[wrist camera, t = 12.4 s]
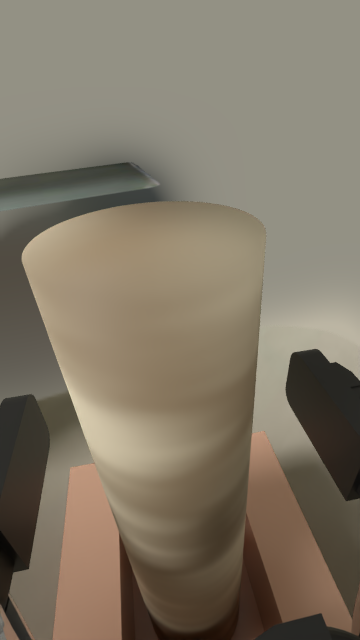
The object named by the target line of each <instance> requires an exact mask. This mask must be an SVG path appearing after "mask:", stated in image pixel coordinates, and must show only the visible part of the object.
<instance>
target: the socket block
mask: <svg viewBox="0 0 360 640" xmlns="http://www.w3.org/2000/svg"><path fill="white" fill-rule="evenodd" d="M319 613H322V616H323V618H324V621H325V623H326V625H327V626H329V627H334V628H338V629H342V630H345V631H347V632H350V633H351V629H352V618H351V616H350V614H349V611H348V609H347V607H346V605H345V603H344V601H343V599H342V596H341V594H340V592H339V590H338V588H337V586H336V584H335V581H334V579H333V577H332V575H331V573H330V571H329V569H328V566H327V564H326V562H325V560H324V558H323V556H322V554H321V551H320V549H319V547H318V545H317V543H316V541H315V539H314V536H313V534H312V532H311V530H310V528H309V526H308V524H307V521H306V519H305V517H304V515H303V513H302V511H301V509H300V506H299V504H298V502H297V500H296V498H295V496H294V494H293V491H292V489H291V487H290V485H289V483H288V481H287V479H286V476H285V474H284V472H283V470H282V468H281V466H280V464H279V461H278V459H277V457H276V455H275V453H274V451H273V449H272V446H271V444H270V442H269V440H268V438H267V436H266V434H265V431H262V432H257V433H252V438H251V451H250V465H249V479H248V493H247V507H246V520H245V534H244V548H243V562H242V575H241V589H240V603H239V615H238V621H237V625H236V628H235V631H234V634H233V636H232V638H231V640H254V639H255V638H257V637H258V636H259V635H261V634H262V633H264V632H265V631H267V630H268V629H269V628H271V627H272V626H274V625H277V624H280V623H284V622H288V621H292V620H296V619H300V618H304V617H308V616H312V615H315V614H319ZM53 640H159V639H158V637H157V635H156V633H155V630H154V628H153V625H152V622H151V619H150V617H149V614H148V611H147V608H146V606H145V603H144V600H143V597H142V594H141V592H140V589H139V586H138V583H137V580H136V578H135V575H134V572H133V569H132V567H131V564H130V561H129V558H128V555H127V553H126V550H125V547H124V544H123V541H122V539H121V536H120V533H119V530H118V528H117V525H116V522H115V519H114V516H113V514H112V511H111V508H110V505H109V502H108V500H107V497H106V494H105V491H104V489H103V486H102V483H101V480H100V477H99V475H98V472H97V469H96V466H95V463H92V464H87V465H82V466H76V467H71V468H70V477H69V486H68V496H67V506H66V515H65V525H64V534H63V544H62V554H61V563H60V573H59V582H58V592H57V602H56V611H55V621H54V630H53Z"/></svg>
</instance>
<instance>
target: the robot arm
mask: <svg viewBox="0 0 360 640" xmlns="http://www.w3.org/2000/svg"><path fill="white" fill-rule="evenodd" d="M286 396H287V400H288V402H289V405H290V407H291V408H292V410H293V412H294V413H295V415H296V417H297V418H298V420H299V422H300V424H301V425H302V427H303V429H304V430H305V432H306V434H307V435H308V437H309V439H310V441H311V442H312V444H313V446H314V447H315V449H316V451H317V452H318V454H319V456H320V458H321V459H322V461H323V463H324V464H325V466H326V468H327V469H328V471H329V473H330V475H331V476H332V478H333V480H334V481H335V483H336V485H337V486H338V488H339V490H340V492H341V493H342V495H343V497H344V498H345V500H346V501H349V500H353V499H358V498H360V381H359V380H358V378H357V377H356V376H355V375H354V374H353V373H352V372H351V371H349V370H348V369H346V368H345V367H343V366H341V365H340V364H338V363H337V362H334V363H330V362H329V361H328V360H327V359H326V357H325V356H324V355H323V354H322V353H321V352H320V351H319V350H318V349H312V350H306V351H300V352H294V353H292V355H291V358H290V364H289V370H288V376H287V382H286ZM49 445H50V439H49V431H48V428H47V425H46V423H45V420H44V418H43V415H42V413H41V411H40V408H39V406H38V404H37V401H36V399H35V397H34V396H33V395H31V394H30V395H24V396H18V397H11V398H5V399H4V400H3V401H2V403H1V405H0V640H35V639H34V637H33V635H32V633H31V632H30V630H29V628H28V626H27V624H26V622H25V620H24V618H23V617H22V615H21V613H20V611H19V609H18V607H17V605H16V603H15V602H14V600H13V598H12V596H11V594H10V593H9V589H10V585H11V580H12V575H13V572H17V571H22V570H26V569H29V564H30V558H31V552H32V546H33V541H34V535H35V529H36V523H37V517H38V511H39V505H40V500H41V494H42V488H43V482H44V476H45V470H46V464H47V458H48V453H49ZM254 640H360V583H359V589H358V594H357V597H356V601H355V605H354V611H353V618H352V629H351V633H350V632H347V631H345V630H342V629H338V628H334V627H329V626H327V625H326V623H325V621H324V618H323V616H322V613H319V614H315V615H312V616H308V617H304V618H300V619H296V620H292V621H288V622H284V623H280V624H277V625H274V626H272V627H271V628H269V629H268V630H267V631H265V632H264V633H262V634H261V635H259V636H258V637H257V638H255V639H254Z"/></svg>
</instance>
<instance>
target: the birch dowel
mask: <svg viewBox="0 0 360 640" xmlns="http://www.w3.org/2000/svg"><path fill="white" fill-rule="evenodd" d="M265 245H266V230H265V228H264V225H263V224H262V223H261V222H260V221H259V220H258V219H257V218H256V217H254V216H253V215H251V214H249V213H247V212H244V211H242V210H239V209H236V208H232V207H228V206H224V205H219V204H211V203H203V202H188V201H169V202H168V201H167V202H149V203H140V204H132V205H125V206H119V207H113V208H109V209H103V210H99V211H95V212H91V213H88V214H84V215H81V216H78V217H75V218H72V219H70V220H67V221H64V222H62V223H59V224H57V225H55V226H53V227H51V228H49V229H47V230H46V231H44V232H42V233H41V234H39V235H38V236H36V237H35V238H34V239H33V240H32V241H31V242H30V243H29V244H28V245H27V246H26V248H25V249H24V251H23V254H22V263H23V265H24V268H25V271H26V274H27V277H28V280H29V282H30V285H31V288H32V291H33V293H34V296H35V299H36V302H37V305H38V307H39V310H40V313H41V316H42V319H43V321H44V324H45V326H46V330H47V332H48V335H49V338H50V341H51V343H52V346H53V349H54V352H55V354H56V358H57V360H58V363H59V366H60V368H61V372H62V374H63V377H64V380H65V383H66V385H67V388H68V391H69V394H70V397H71V399H72V402H73V405H74V408H75V411H76V413H77V416H78V419H79V422H80V424H81V427H82V430H83V433H84V436H85V438H86V441H87V444H88V447H89V450H90V452H91V455H92V458H93V461H94V463H95V466H96V469H97V472H98V475H99V477H100V480H101V483H102V486H103V489H104V491H105V494H106V497H107V500H108V502H109V505H110V508H111V511H112V514H113V516H114V519H115V522H116V525H117V528H118V530H119V533H120V536H121V539H122V541H123V544H124V547H125V550H126V553H127V555H128V558H129V561H130V564H131V567H132V569H133V572H134V575H135V578H136V580H137V583H138V586H139V589H140V592H141V594H142V597H143V600H144V603H145V606H146V608H147V611H148V614H149V617H150V619H151V622H152V625H153V628H154V630H155V633H156V635H157V637H158V639H159V640H231V638H232V636H233V634H234V631H235V628H236V625H237V621H238V615H239V603H240V589H241V575H242V562H243V548H244V534H245V520H246V507H247V493H248V479H249V465H250V451H251V438H252V424H253V410H254V396H255V382H256V369H257V355H258V341H259V327H260V314H261V300H262V286H263V272H264V258H265Z"/></svg>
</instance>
